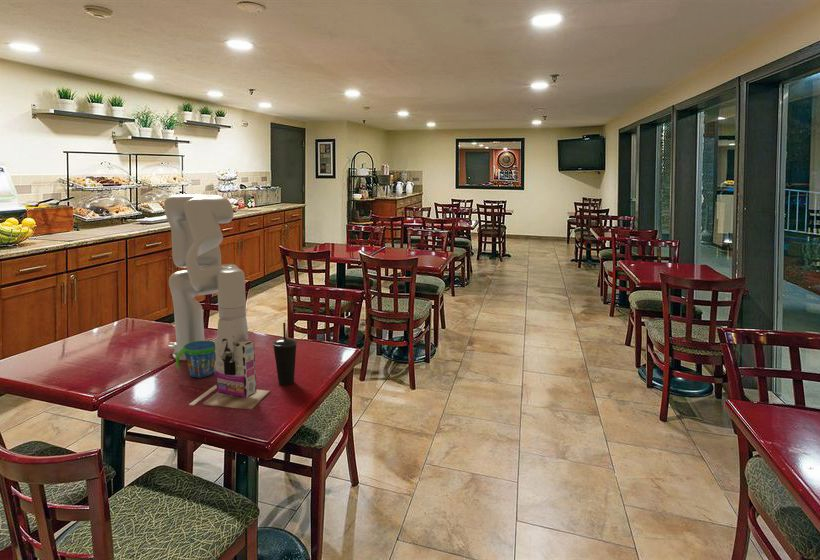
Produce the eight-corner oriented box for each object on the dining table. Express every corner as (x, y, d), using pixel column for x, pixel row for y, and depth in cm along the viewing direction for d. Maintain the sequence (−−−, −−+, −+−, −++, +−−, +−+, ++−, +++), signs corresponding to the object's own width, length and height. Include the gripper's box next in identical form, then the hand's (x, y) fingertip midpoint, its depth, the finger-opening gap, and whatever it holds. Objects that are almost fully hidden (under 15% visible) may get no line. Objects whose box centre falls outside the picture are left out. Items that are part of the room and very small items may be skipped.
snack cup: (222, 364, 177) (220, 337, 175) (230, 374, 169) (229, 345, 167) (173, 373, 168) (171, 344, 166) (180, 384, 160) (178, 354, 158)
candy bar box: (257, 392, 151) (255, 340, 148) (246, 399, 146) (243, 345, 143) (227, 386, 155) (225, 335, 152) (216, 392, 150) (212, 339, 147)
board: (202, 404, 146) (202, 403, 146) (224, 388, 158) (224, 386, 158) (251, 409, 144) (251, 407, 144) (269, 392, 155) (269, 390, 155)
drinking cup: (276, 378, 166) (274, 319, 162) (299, 377, 167) (298, 319, 163) (271, 387, 159) (269, 326, 155) (296, 387, 160) (294, 326, 156)
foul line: (189, 405, 146) (188, 404, 146) (215, 385, 159) (214, 385, 159) (193, 405, 146) (193, 404, 146) (219, 386, 159) (219, 385, 159)
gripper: (235, 303, 154) (238, 359, 158) (203, 318, 138) (207, 380, 142) (258, 305, 153) (260, 361, 157) (229, 320, 137) (232, 383, 140)
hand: (235, 370), depth 149 cm, fingers closed on candy bar box, 5 cm apart
